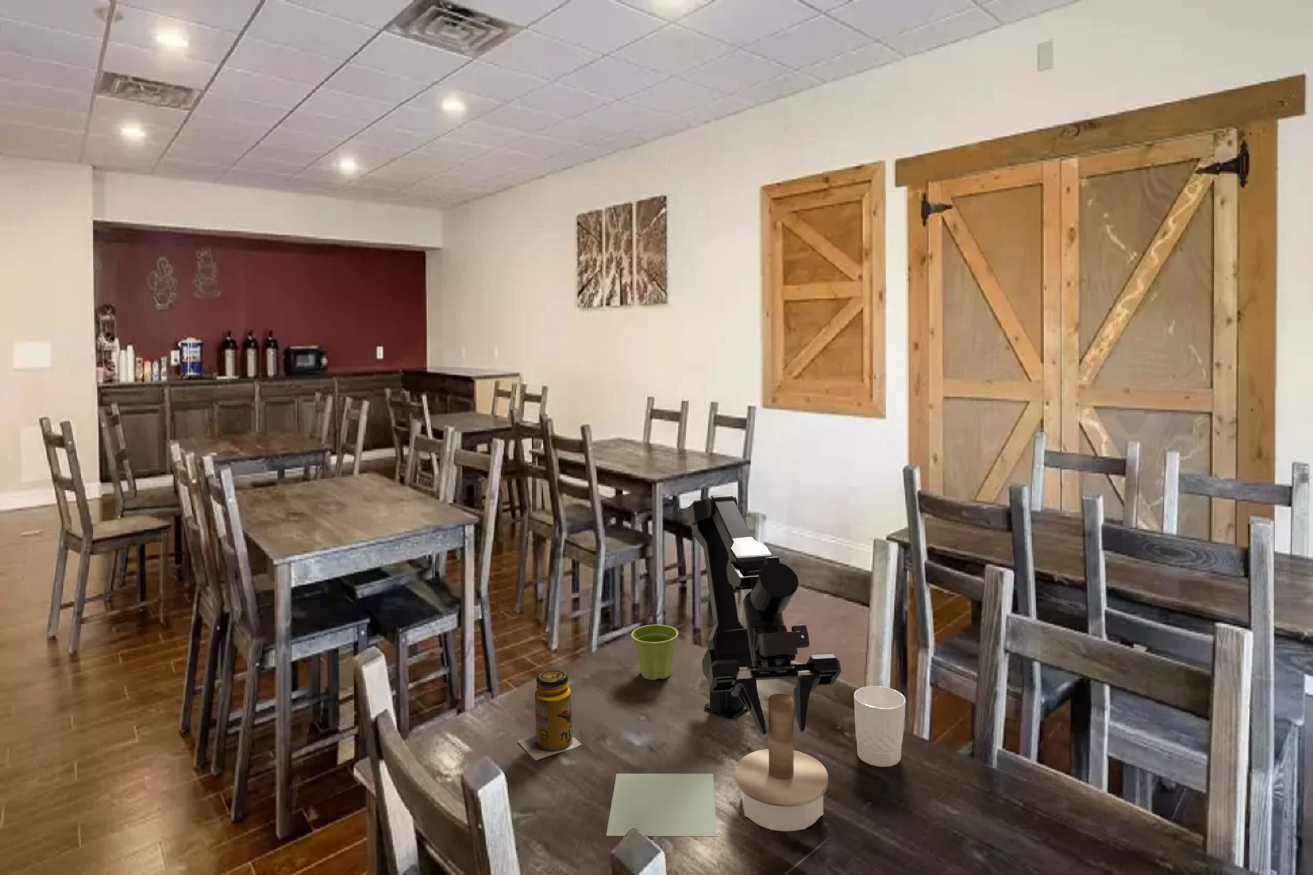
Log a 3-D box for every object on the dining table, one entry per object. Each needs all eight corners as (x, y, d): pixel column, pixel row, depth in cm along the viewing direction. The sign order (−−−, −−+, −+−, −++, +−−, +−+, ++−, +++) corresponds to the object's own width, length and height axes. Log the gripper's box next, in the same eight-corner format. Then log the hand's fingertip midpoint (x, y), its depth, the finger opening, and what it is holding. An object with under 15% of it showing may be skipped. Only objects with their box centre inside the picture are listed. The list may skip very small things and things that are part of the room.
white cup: (907, 748, 125) (908, 690, 124) (900, 774, 118) (902, 712, 117) (858, 739, 129) (858, 682, 127) (849, 763, 122) (849, 703, 120)
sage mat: (616, 775, 120) (616, 773, 120) (713, 775, 119) (713, 773, 119) (606, 837, 105) (606, 835, 105) (716, 838, 104) (716, 836, 104)
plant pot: (664, 688, 149) (663, 645, 148) (623, 678, 154) (622, 636, 153) (687, 670, 157) (686, 629, 156) (647, 661, 162) (646, 621, 161)
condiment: (582, 745, 129) (579, 677, 127) (535, 761, 124) (532, 691, 123) (562, 727, 135) (559, 662, 133) (517, 742, 130) (514, 675, 129)
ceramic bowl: (773, 777, 118) (773, 750, 118) (835, 807, 110) (836, 778, 110) (726, 809, 110) (726, 780, 110) (790, 844, 103) (790, 812, 102)
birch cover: (745, 749, 118) (744, 674, 116) (831, 761, 114) (832, 684, 112) (726, 797, 106) (725, 715, 104) (822, 813, 102) (823, 728, 100)
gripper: (709, 607, 110) (723, 718, 100) (837, 601, 111) (863, 709, 102) (702, 639, 119) (715, 743, 109) (821, 632, 120) (843, 735, 111)
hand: (783, 733), depth 107 cm, fingers open, 5 cm apart
